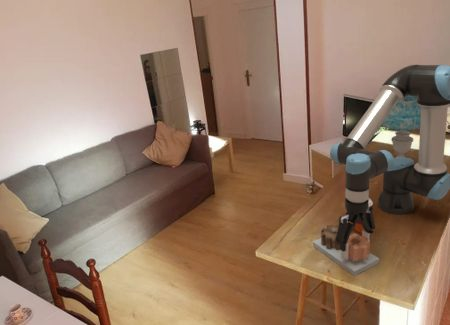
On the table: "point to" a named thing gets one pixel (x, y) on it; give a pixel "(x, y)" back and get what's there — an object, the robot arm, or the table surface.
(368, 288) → the table surface
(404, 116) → the table lamp
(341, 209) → the table surface
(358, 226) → the paper cup
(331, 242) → the gear
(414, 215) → the table surface
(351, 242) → the gear
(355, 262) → the gear board
